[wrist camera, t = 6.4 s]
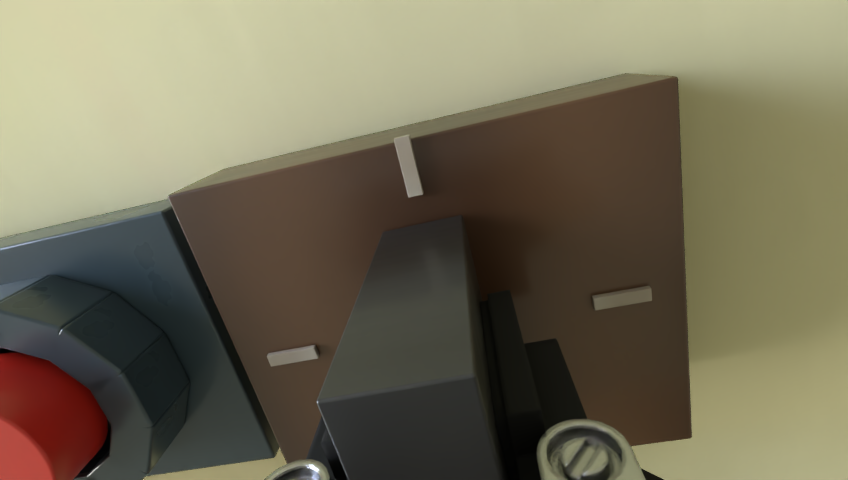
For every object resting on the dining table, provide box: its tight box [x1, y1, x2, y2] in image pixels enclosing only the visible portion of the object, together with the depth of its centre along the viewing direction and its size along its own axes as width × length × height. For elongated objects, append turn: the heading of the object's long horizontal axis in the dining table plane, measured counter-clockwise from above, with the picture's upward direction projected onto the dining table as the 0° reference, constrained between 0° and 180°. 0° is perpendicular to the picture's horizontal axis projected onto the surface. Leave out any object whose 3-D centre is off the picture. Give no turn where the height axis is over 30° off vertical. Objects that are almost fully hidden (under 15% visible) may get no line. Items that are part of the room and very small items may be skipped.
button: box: [0, 352, 108, 480], centre depth 12 cm, size 4×4×2 cm
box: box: [0, 199, 280, 480], centre depth 15 cm, size 10×9×4 cm
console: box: [168, 73, 692, 464], centre depth 13 cm, size 12×10×3 cm
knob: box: [317, 215, 509, 480], centre depth 9 cm, size 6×2×6 cm, turn 14°
